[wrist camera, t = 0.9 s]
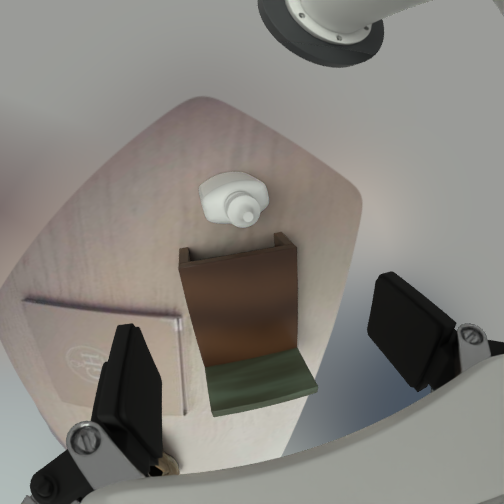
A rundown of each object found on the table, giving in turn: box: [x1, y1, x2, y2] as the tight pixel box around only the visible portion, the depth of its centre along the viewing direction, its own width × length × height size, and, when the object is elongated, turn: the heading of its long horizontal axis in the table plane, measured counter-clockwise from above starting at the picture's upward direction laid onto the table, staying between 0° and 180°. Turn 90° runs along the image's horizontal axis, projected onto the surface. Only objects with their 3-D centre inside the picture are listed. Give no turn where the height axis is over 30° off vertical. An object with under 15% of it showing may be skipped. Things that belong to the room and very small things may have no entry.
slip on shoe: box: [148, 452, 179, 477], centre depth 41 cm, size 30×11×9 cm, turn 174°
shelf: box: [179, 232, 318, 417], centre depth 29 cm, size 15×12×12 cm
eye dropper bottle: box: [199, 172, 269, 228], centre depth 24 cm, size 4×6×12 cm
